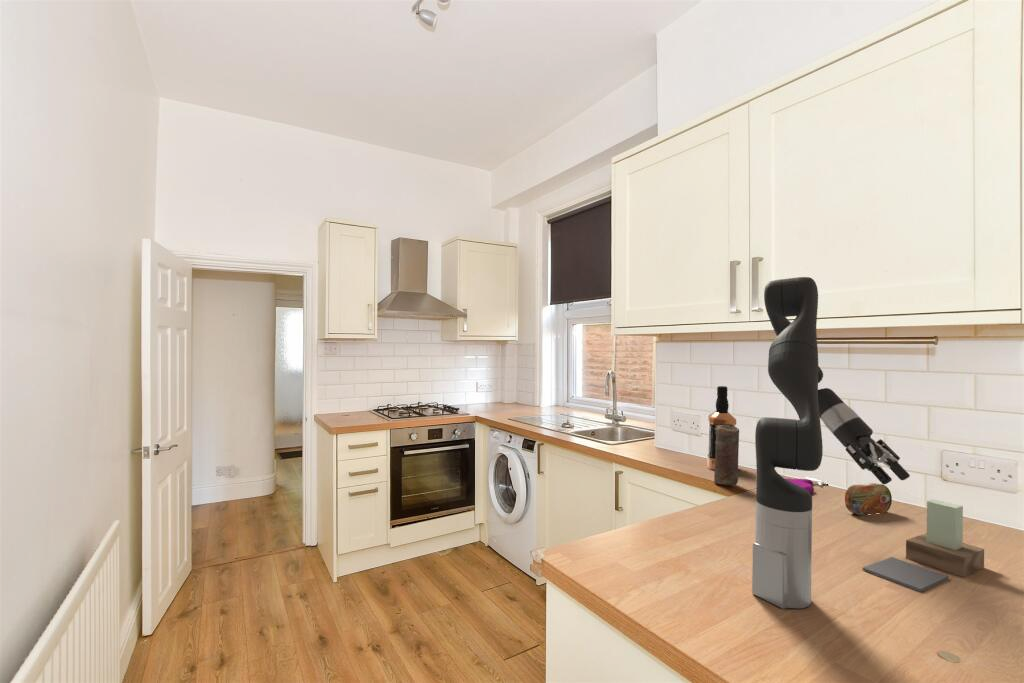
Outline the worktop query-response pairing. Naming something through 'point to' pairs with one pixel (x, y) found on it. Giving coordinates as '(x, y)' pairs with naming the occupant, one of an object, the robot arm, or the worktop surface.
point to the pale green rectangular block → (945, 524)
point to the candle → (726, 455)
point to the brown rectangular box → (945, 556)
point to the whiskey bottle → (718, 422)
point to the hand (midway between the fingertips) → (897, 480)
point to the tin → (868, 499)
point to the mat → (906, 574)
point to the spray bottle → (807, 483)
